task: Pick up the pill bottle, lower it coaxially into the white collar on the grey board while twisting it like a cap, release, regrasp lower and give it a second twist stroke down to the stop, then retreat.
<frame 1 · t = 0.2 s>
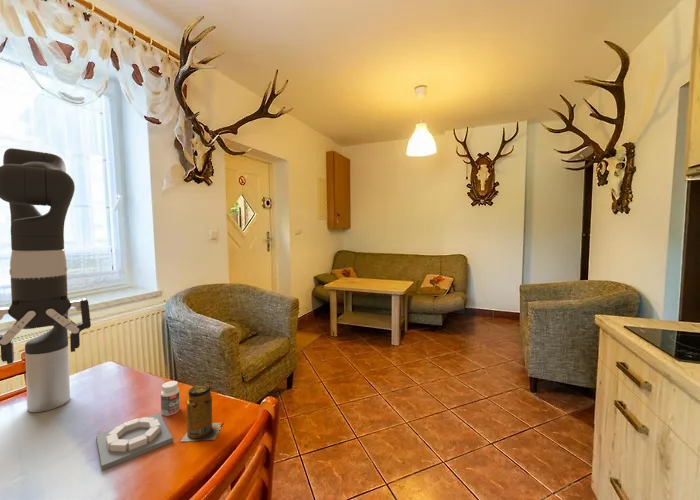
hand: (43, 356, 59), 29 cm above the table, fingers open, 8 cm apart
socket board: (134, 440, 78), on the table
pill bottle: (170, 412, 90), on the table
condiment: (203, 433, 82), on the table
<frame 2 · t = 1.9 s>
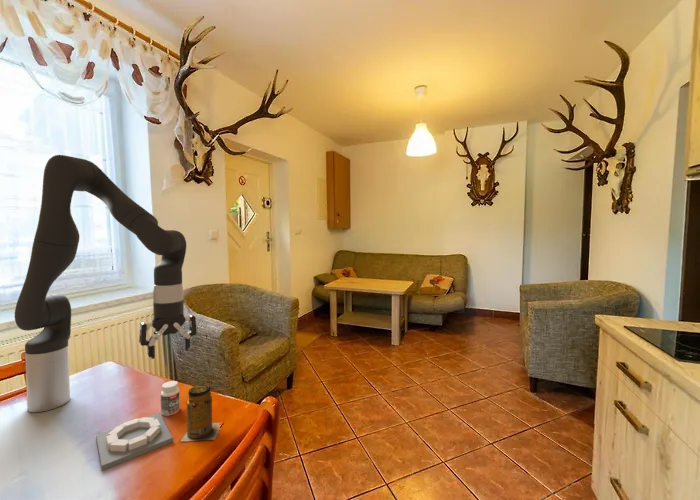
hand: (169, 353, 89), 17 cm above the table, fingers open, 8 cm apart
nothing on the table moved.
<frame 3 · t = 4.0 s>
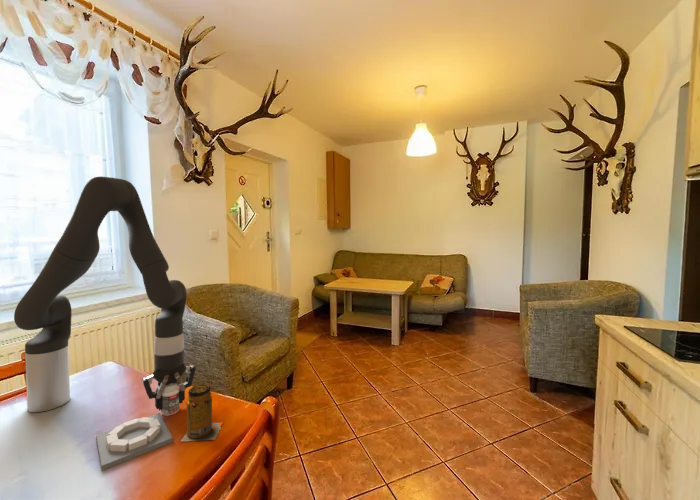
hand: (170, 405, 90), 2 cm above the table, fingers closed on pill bottle, 4 cm apart
pill bottle: (170, 412, 90), on the table, touching gripper
everything else where it was.
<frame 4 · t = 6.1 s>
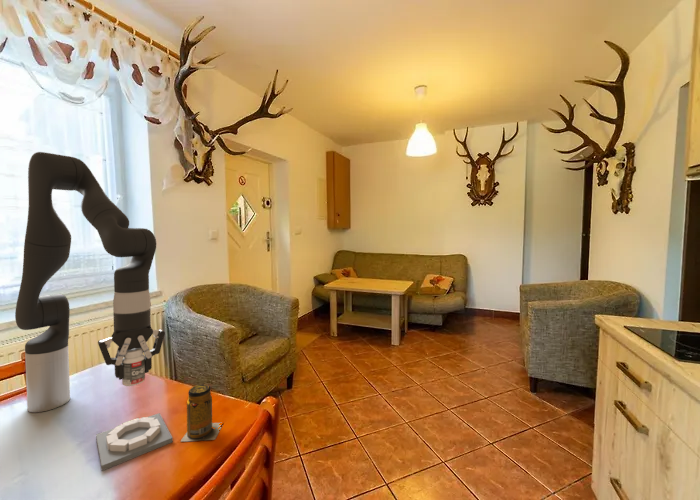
hand: (133, 374, 77), 17 cm above the table, fingers closed on pill bottle, 4 cm apart
pill bottle: (134, 382, 77), point 15 cm above the table, touching gripper
everything else where it was.
when the fingers open (4 cm above the table, at t = 8.5 s): pill bottle stays where it is, resting on socket board.
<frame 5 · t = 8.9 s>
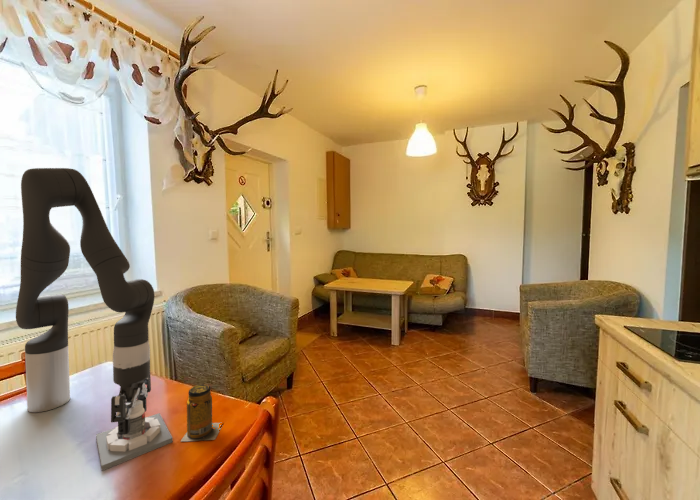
hand: (133, 422, 77), 5 cm above the table, fingers open, 8 cm apart
pill bottle: (134, 436, 78), point 1 cm above the table, touching socket board
everything else where it was.
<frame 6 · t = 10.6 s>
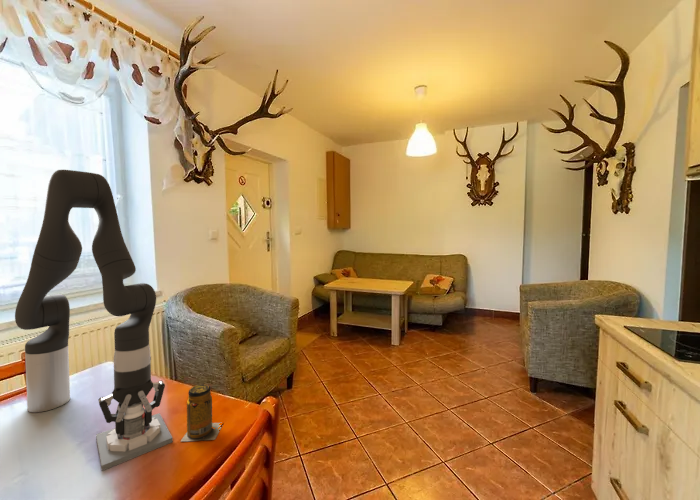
hand: (134, 428, 78), 3 cm above the table, fingers closed on pill bottle, 4 cm apart
pill bottle: (134, 436, 78), point 1 cm above the table, touching gripper, socket board
everything else where it was.
when the fingers open (3 cm above the table, at t = 12.2 s): pill bottle stays where it is, resting on socket board.
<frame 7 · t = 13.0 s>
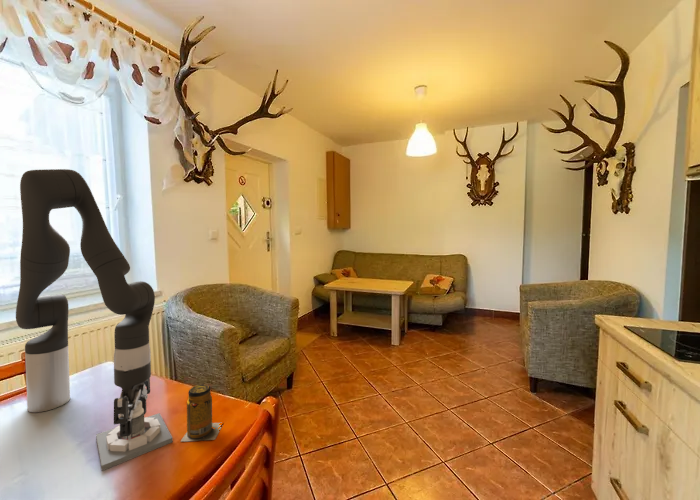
hand: (134, 424, 78), 4 cm above the table, fingers open, 8 cm apart
pill bottle: (133, 436, 78), point 1 cm above the table, touching socket board
everything else where it was.
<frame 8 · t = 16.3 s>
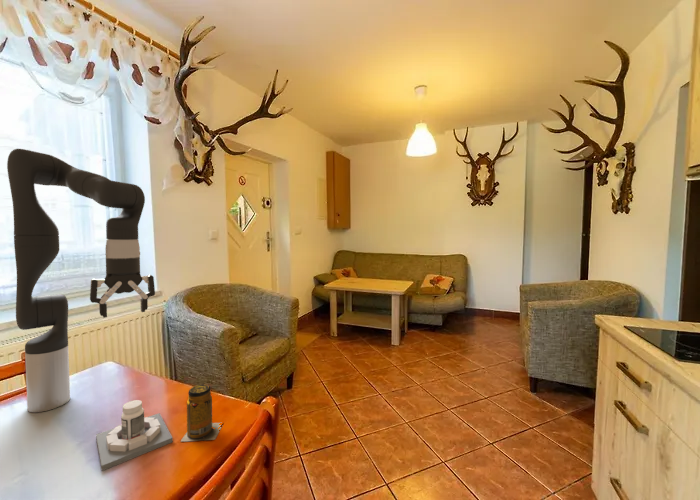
hand: (124, 314, 85), 30 cm above the table, fingers open, 8 cm apart
nothing on the table moved.
at the end: pill bottle 0.2 cm off-centre on the socket board, point 1.0 cm above the socket board's base; pill bottle tilted 0°; the gripper is holding nothing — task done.
